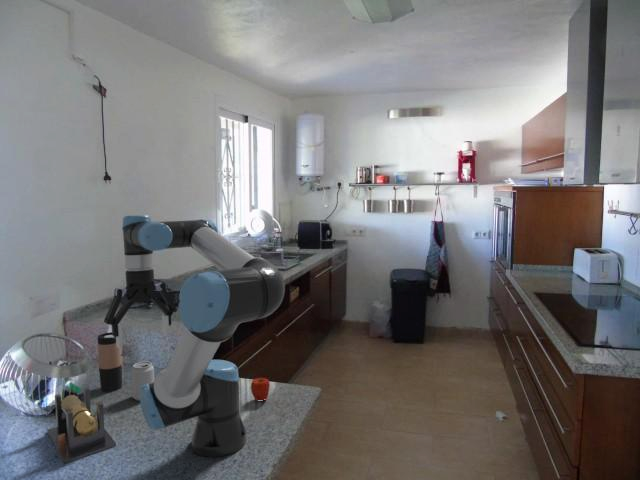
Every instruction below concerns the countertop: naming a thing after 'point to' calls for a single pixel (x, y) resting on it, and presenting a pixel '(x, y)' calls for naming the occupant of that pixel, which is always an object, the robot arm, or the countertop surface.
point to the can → (141, 377)
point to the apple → (260, 388)
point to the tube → (80, 416)
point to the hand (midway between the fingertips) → (143, 342)
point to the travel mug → (109, 363)
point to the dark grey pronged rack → (69, 438)
